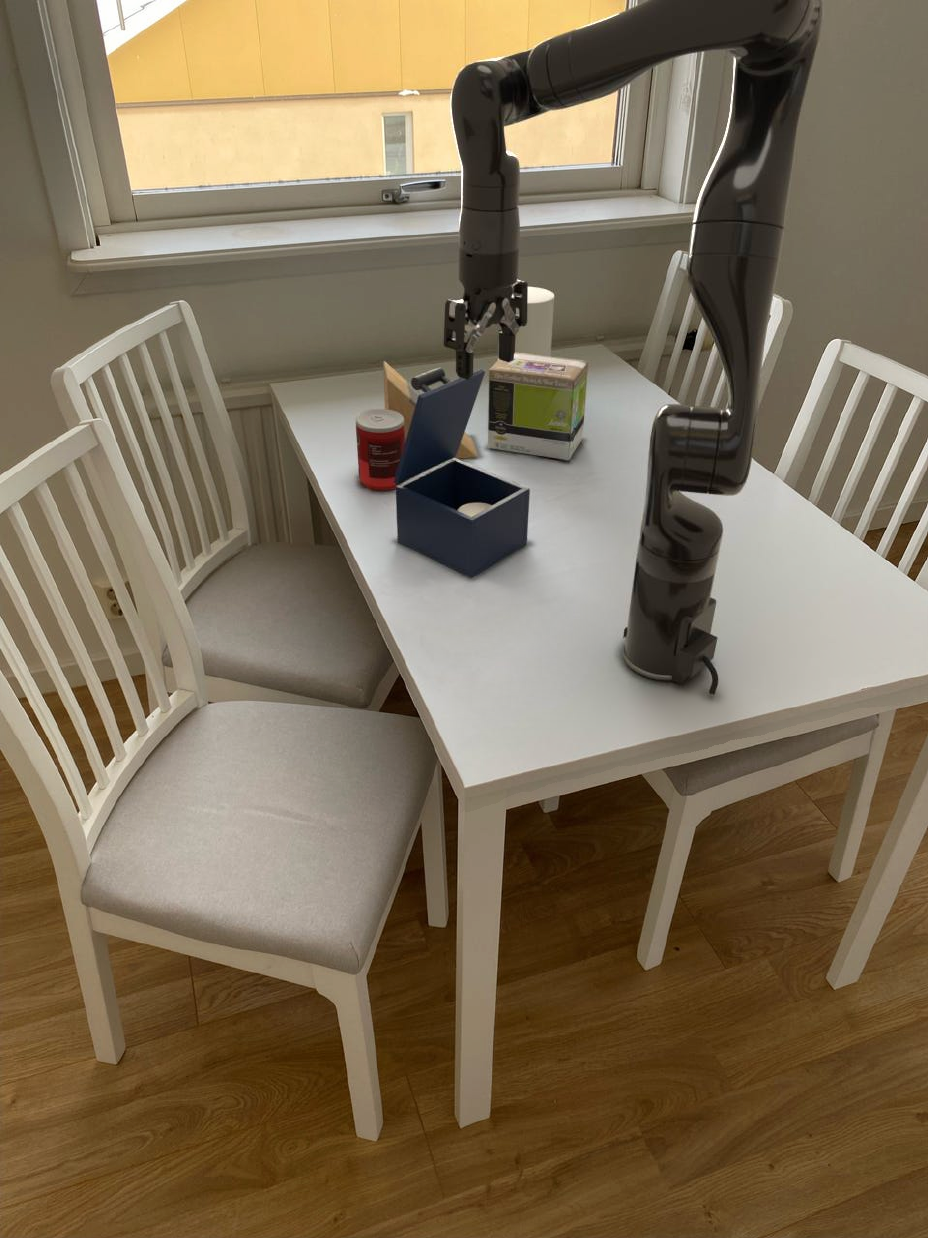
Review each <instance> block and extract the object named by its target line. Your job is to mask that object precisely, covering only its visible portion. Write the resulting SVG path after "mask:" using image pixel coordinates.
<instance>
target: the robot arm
mask: <svg viewBox="0 0 928 1238" xmlns="http://www.w3.org/2000/svg"><path fill="white" fill-rule="evenodd" d="M824 16H825V6H824V0H644V1H643V2H641V3H639V4H637V5H635V6H633V7H630V8H628V9H626V10H623V11H621V12H618V13H617V14H614V15H611V16H609V17H607V18H603V19H601V20H599V21H596V22H593V23H590V24H587V25H584V26H581V27H579V28H575V29H573V30H570V31H567V32H563V33H561V34H558V35H555V36H552V37H550V38H548V39H545V40H543V41H541V42H540V43H538V44H536V45H535V46H534V48H533V47H532V48H530V49H527V50H524V51H521V52H517V53H513V54H510V55H505V56H502V57H497V58H489V59H485V60H484V59H483V60H478V61H473V62H470V63H468V64H466V65H465V66H464V67H462V68H461V69H460V70H459V72H458V73H457V75H456V77H455V78H454V79H455V80H454V82H453V85H452V88H451V89H452V90H451V94H450V117H451V123H452V127H453V128H452V130H453V134H454V139H455V144H456V150H457V153H458V157H459V160H460V165H461V206H460V207H461V208H460V215H459V222H458V280H459V282H460V283H461V285H462V286H463V295H462V298H461V299H459V300H452V299H447V300H446V301H445V302H444V303H445V304H444V321H443V322H444V324H443V346H444V347H445V348H447V349H451V350H454V351H455V373H456V375H457V377H458V378H463V379H466V380H469V379H471V378H472V377H473V372H474V351H473V349H474V347H475V344H476V343H477V340H478V339H479V338H481V337H483V334H484V332H485V330H486V329H487V328H490V327H491V326H492V325H497V327H498V330H499V329H500V330H502V332H499V331H498V338H499V346H498V345H497V358H498V357H499V359H500V360H502V361H506V362H511V361H513V360H514V353H515V338H516V334H517V333H518V331H519V328H520V327H521V326H526V324H527V307H528V287H529V285H528V282H527V281H524V280H519V279H518V278H519V257H520V255H519V254H520V234H521V223H520V222H521V221H520V206H519V205H520V186H521V185H520V183H521V167H520V162H519V159H518V157H517V156H516V155H515V154H514V153H513V152H511V151H508V150H507V144H506V143H507V142H506V135H505V127H508V126H512V125H515V124H518V123H521V122H524V121H526V120H530V119H532V118H536V117H537V116H541V115H543V114H546V113H548V112H550V111H559V110H564V109H568V108H572V107H576V106H578V105H581V104H585V103H589V102H593V101H595V100H598V99H601V98H604V97H608V96H610V95H613V94H614V93H616V92H619V91H620V90H622V89H624V88H626V87H627V86H629V85H631V83H633V82H635V81H636V80H637V79H639V78H640V77H641V76H643V75H645V74H646V73H647V72H648V71H650V70H652V69H654V68H655V67H657V66H659V65H662V64H664V63H665V62H668V61H671V60H673V59H676V58H679V57H683V56H686V55H687V56H688V55H691V54H697V53H704V52H711V51H725V50H726V51H727V52H728V53H729V54H731V55H732V56H733V77H732V78H733V79H732V91H731V99H730V108H729V110H730V111H729V116H728V120H727V126H726V129H725V133H724V136H723V139H722V142H721V144H720V147H719V149H718V152H717V154H716V156H715V158H714V160H713V162H712V164H711V166H710V168H709V170H708V173H707V174H706V177H705V179H704V182H703V184H702V186H701V189H700V191H699V194H698V197H697V200H696V202H695V206H694V210H693V216H692V221H691V229H690V236H689V244H688V252H687V258H686V267H685V272H686V273H685V275H686V280H687V281H686V282H687V284H688V288H689V291H690V294H691V296H692V298H693V300H694V303H695V306H696V307H697V309H698V311H699V313H700V316H701V318H702V320H703V322H704V324H705V326H706V328H707V330H708V332H709V334H710V336H711V338H712V341H713V344H714V346H715V349H716V351H717V353H718V357H719V360H720V363H721V366H722V370H723V373H724V377H725V383H726V388H727V390H726V391H727V406H726V407H714V406H713V407H712V406H701V405H689V404H679V403H678V404H677V403H668V404H664V405H662V406H661V407H660V408H659V410H658V411H657V413H656V415H655V416H654V419H653V422H652V426H651V431H650V436H649V445H648V456H647V457H648V458H647V469H646V470H647V472H646V484H645V498H644V504H643V512H642V516H641V517H642V518H641V524H640V529H639V530H640V531H639V537H638V538H639V539H638V545H637V552H636V559H635V565H634V566H635V567H634V574H633V579H632V580H633V581H632V588H631V595H630V596H631V597H630V604H629V610H628V619H627V625H626V627H625V628H623V635H622V636H623V637H622V640H624V645H623V651H622V657H623V659H624V660H623V661H624V662H625V663H626V665H627V666H628V667H629V668H630V669H631V670H632V671H634V672H635V673H637V674H639V675H640V676H643V677H645V678H647V679H648V678H649V679H652V680H656V681H665V682H668V681H670V682H673V683H675V684H678V685H681V684H682V683H683V682H685V681H686V680H687V679H688V678H689V679H692V678H693V677H694V676H696V675H697V674H698V673H699V672H700V671H701V670H702V669H703V668H704V667H705V666H706V668H707V669H708V671H709V673H710V675H711V685H710V686H709V691H708V693H709V694H710V695H715V694H716V691H717V690H718V685H719V674H718V671H717V669H716V667H715V666H714V664H713V663H712V660H713V659H715V658H714V657H715V653H716V649H717V648H716V647H717V643H718V638H719V637H718V636H716V635H713V634H712V633H711V632H712V629H713V628H712V627H713V622H714V617H715V612H716V607H717V600H716V598H714V597H712V591H713V587H714V581H715V577H716V572H717V566H718V561H719V555H720V550H721V546H722V541H723V537H724V524H723V522H722V520H721V518H720V517H719V515H718V514H717V513H716V512H714V510H712V509H711V508H709V507H707V506H705V505H704V504H701V503H700V502H697V501H695V500H693V499H692V498H690V497H688V496H686V494H683V493H682V492H684V493H692V494H693V493H694V494H702V495H703V494H704V495H714V496H724V497H733V496H737V495H739V494H740V493H741V492H742V491H743V489H744V487H745V485H746V484H747V480H748V479H749V475H750V472H751V468H752V467H751V466H752V460H753V454H754V445H755V438H756V430H757V429H756V427H757V419H758V408H759V398H760V388H761V387H760V386H761V379H762V369H763V361H764V360H763V359H764V352H765V344H766V338H767V331H768V326H769V321H770V314H771V310H772V305H773V300H774V293H775V289H776V283H777V278H778V273H779V267H780V261H781V255H782V249H783V242H784V238H785V237H784V236H785V229H786V221H787V213H788V204H789V197H790V192H791V191H790V190H791V184H792V177H793V169H794V162H795V153H796V144H797V135H798V129H799V124H800V119H801V118H800V117H801V113H802V108H803V105H804V100H805V96H806V92H807V88H808V84H809V81H810V78H811V77H810V76H811V74H812V73H811V72H812V68H813V64H814V61H815V57H816V54H817V49H818V46H819V41H820V37H821V33H822V29H823V22H824ZM516 308H518V309H519V315H516ZM469 322H470V323H471V324H472V325H473V326H471V325H468V324H469ZM454 334H455V337H454ZM467 335H468V337H467V340H466V341H465V338H466V336H467ZM453 337H454V338H453Z"/></svg>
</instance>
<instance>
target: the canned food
mask: <svg viewBox="0 0 928 1238" xmlns="http://www.w3.org/2000/svg"><path fill="white" fill-rule="evenodd" d="M355 433H356V434H355V435H356V437H355V438H356V449H357V467H358V478H359V480H360V483H361V484H362V485H363V486H364V487H365V488H367V489H369V490H373V491H377V492H378V491H380V492H381V491H382V492H383V491H387V492H388V491H392V490H396V486H398V485H400V484H402V483H404V482H405V481H404V482H402V483H400V484H398V485H397V484H396V483H394V479H395V475H396V472H397V468H398V465H399V462H400V458H401V455H402V451H403V448H404V444H405V427H404V418H403V416H402V415H401V414H400V413H398V412H396V411H392V410H387V409H385V408H374V409H368V410H365V411H362V412H360V413H359V414H357V415H356V418H355Z"/></svg>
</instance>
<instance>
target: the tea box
mask: <svg viewBox="0 0 928 1238" xmlns="http://www.w3.org/2000/svg"><path fill="white" fill-rule="evenodd" d="M588 365H589V361H588V360H583V359H573V358H565V357H557V356H551V357H550V356H542V355H533V354H525V353H516V352H515V353H514V360H513V361H511V362H506V361H502V360H500V359H499V360H498V359H497V361H496V362H495V363H494V364H493V365H492V366H491V367H490V368H489V370H488V406H487V407H488V409H487V410H488V411H487V412H488V413H487V415H488V417H487V436H488V437H487V440H488V441H487V443H488V444H487V447H488V448H489V449H494V450H500V451H506V452H512V453H513V452H514V453H518V454H519V453H520V454H527V455H533V456H540V457H544V458H545V457H546V458H550V459H551V458H552V459H558V460H563V461H570V460H571V458H572V457H573V454H574V453H575V452H576V450H577V449H578V446H579V445H580V443H581V441H582V439H583V433H584V425H585V424H584V423H585V411H586V398H587V397H586V396H587V382H588V368H589V366H588Z"/></svg>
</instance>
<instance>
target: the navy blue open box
mask: <svg viewBox="0 0 928 1238" xmlns="http://www.w3.org/2000/svg"><path fill="white" fill-rule="evenodd" d="M530 491H531V488H530V487H527V486H525V485H522V484H520V483H518V482H515V481H513V480H510V479H507V478H505V477H503V476H500V475H497V474H495V473H493V472H491V471H488V470H486V469H484V468H481V467H478V466H477V465H473V464H471V463H469V462H466V461H463V460H461V459H460V458H458V459H456V458H453V459H450V460H447V461H445V462H443V463H441V464H439V465H437V466H435V467H433V468H431V469H429V470H427V471H425V472H423V473H421V474H419V475H417V476H415V477H413V478H411V479H409V480H406V481H404V483H402V484H400V485H398V486H396V489H395V506H396V534H397V536H396V537H397V543H399V544H400V545H403V546H405V547H407V548H408V549H411V550H413V551H415V552H417V553H419V554H421V555H424V556H425V557H427V558H429V559H431V560H433V561H435V562H437V563H439V564H442V565H444V566H446V567H447V568H449V569H452V570H453V571H455V572H458V573H460V574H462V575H463V576H466V577H467V578H470V579H472V578H474V577H476V576H477V575H479V574H480V573H482V572H484V571H485V570H487V569H488V568H491V567H492V566H493V565H495V564H497V563H498V562H500V561H501V560H504V559H505V558H506V557H508V556H510V555H511V554H513V553H514V552H517V551H518V550H520V549H521V548H522V547H524V546H526V545H527V544H528V533H529V531H528V530H529V512H530V493H531V492H530ZM476 502H477V503H486V504H489V505H492V506H490V507H488V508H487V509H485V510H483V511H481V512H479V513H478V514H476V515H474V516H472V517H470V516H468V515H466V514H464V513H461V512H459V511H458V509H459V508H460V507H461V506H463V505H465V504H468V503H476Z"/></svg>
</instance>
